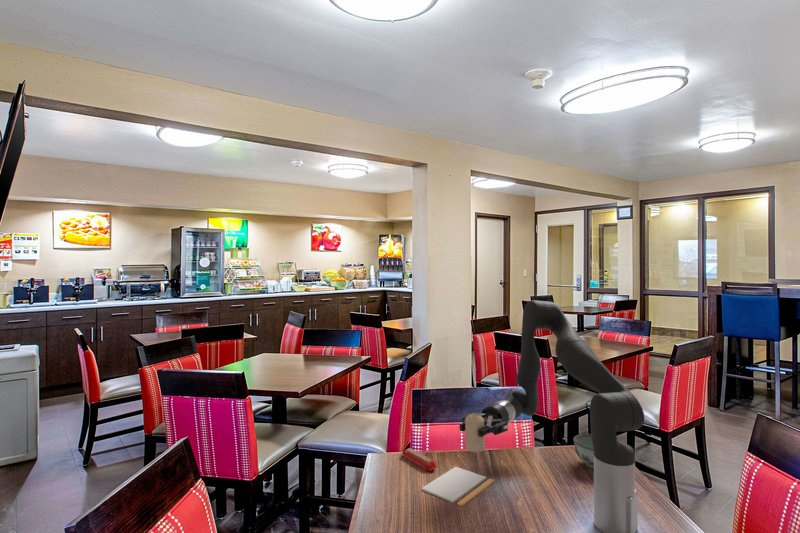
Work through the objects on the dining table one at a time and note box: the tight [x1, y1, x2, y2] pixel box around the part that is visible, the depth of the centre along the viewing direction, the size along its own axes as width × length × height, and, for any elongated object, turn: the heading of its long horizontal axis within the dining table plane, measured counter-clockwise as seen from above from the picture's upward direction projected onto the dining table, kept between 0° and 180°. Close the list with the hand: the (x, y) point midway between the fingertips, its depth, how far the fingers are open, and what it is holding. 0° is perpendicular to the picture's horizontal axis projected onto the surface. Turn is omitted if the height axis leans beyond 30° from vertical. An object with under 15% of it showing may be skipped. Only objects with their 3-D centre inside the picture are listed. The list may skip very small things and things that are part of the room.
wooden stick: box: [456, 478, 495, 507], centre depth 128 cm, size 2×18×1 cm, turn 140°
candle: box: [464, 412, 486, 453], centre depth 130 cm, size 6×6×10 cm
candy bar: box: [401, 447, 438, 473], centre depth 148 cm, size 16×4×3 cm, turn 35°
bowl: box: [573, 433, 594, 470], centre depth 144 cm, size 14×13×8 cm
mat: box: [421, 466, 487, 504], centre depth 133 cm, size 11×18×1 cm, turn 140°
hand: (470, 430), depth 128 cm, fingers closed on candle, 5 cm apart
